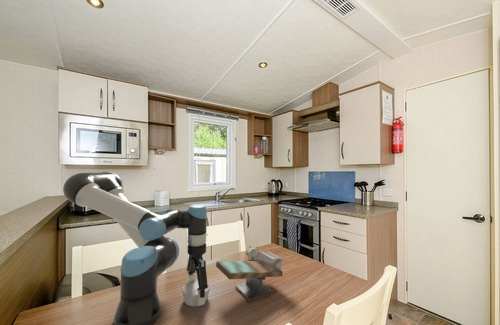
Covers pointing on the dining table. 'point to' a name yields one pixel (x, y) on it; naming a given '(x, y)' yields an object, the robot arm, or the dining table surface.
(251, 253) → the grey lumpy piece
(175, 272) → the dining table surface
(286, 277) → the dining table surface
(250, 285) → the fulcrum
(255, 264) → the beam
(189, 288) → the ramekin
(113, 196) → the robot arm
